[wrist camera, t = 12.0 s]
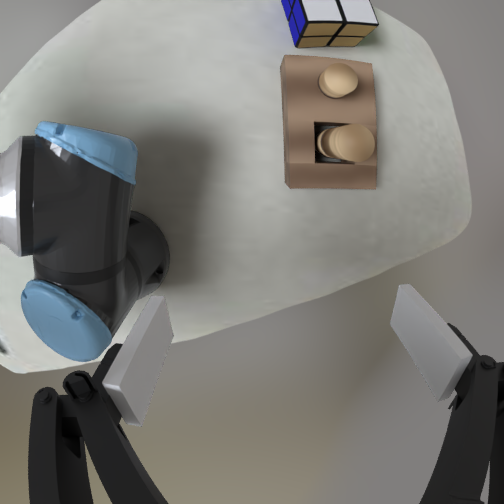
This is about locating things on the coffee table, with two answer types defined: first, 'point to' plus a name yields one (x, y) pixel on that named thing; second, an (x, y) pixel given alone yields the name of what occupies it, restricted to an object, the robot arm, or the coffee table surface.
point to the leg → (346, 143)
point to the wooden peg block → (325, 119)
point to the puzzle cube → (329, 21)
